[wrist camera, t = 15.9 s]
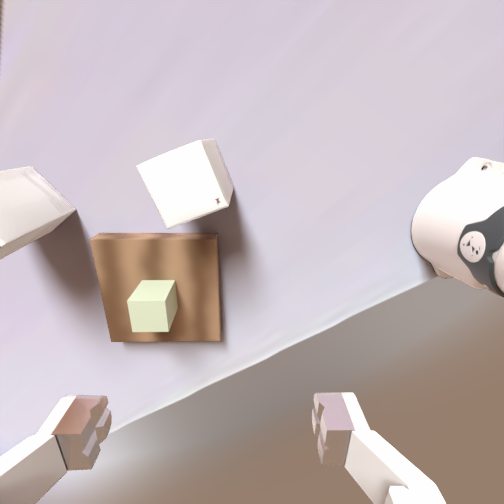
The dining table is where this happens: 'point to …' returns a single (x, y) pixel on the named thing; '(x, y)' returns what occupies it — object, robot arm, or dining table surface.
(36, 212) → the skincare box
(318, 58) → the dining table surface
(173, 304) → the sage block
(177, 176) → the supplement box
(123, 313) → the walnut stand
